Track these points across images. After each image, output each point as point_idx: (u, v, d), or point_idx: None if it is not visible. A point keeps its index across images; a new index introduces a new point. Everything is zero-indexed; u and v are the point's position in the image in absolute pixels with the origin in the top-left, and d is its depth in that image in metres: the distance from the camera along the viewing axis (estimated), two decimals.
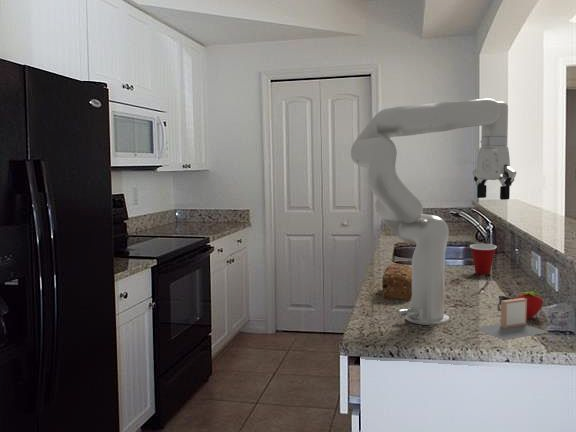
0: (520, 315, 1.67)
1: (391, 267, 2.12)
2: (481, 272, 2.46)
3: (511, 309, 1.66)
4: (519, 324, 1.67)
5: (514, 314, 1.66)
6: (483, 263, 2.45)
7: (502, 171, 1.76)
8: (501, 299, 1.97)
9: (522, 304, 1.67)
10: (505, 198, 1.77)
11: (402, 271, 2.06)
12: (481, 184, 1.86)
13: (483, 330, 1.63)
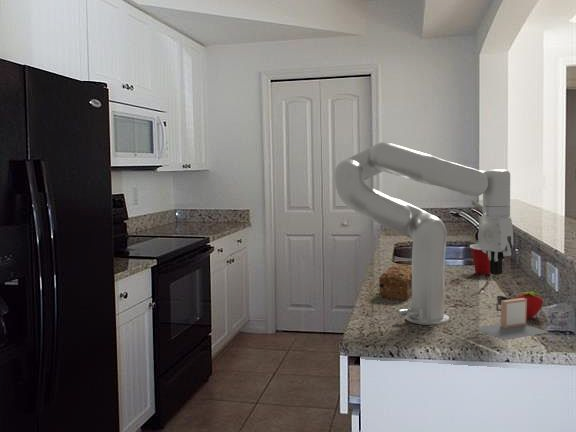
0: (520, 315, 1.67)
1: (392, 267, 2.12)
2: (481, 272, 2.46)
3: (511, 309, 1.66)
4: (519, 324, 1.67)
5: (514, 314, 1.66)
6: (483, 263, 2.45)
7: None
8: (499, 299, 1.97)
9: (522, 304, 1.67)
10: (498, 273, 1.73)
11: (400, 271, 2.06)
12: None
13: (483, 330, 1.63)
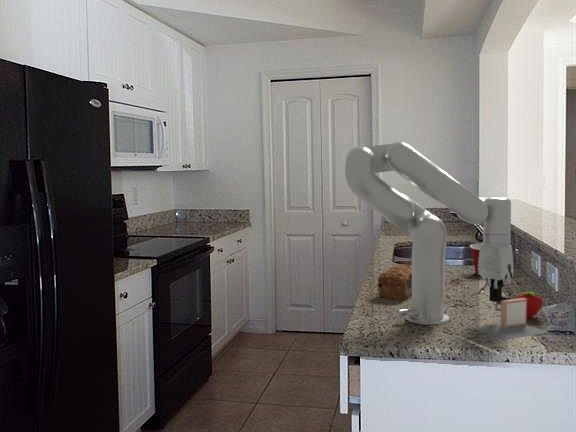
0: (520, 315, 1.67)
1: (393, 267, 2.12)
2: None
3: (511, 309, 1.66)
4: (519, 324, 1.67)
5: (514, 314, 1.66)
6: None
7: (501, 278, 1.69)
8: None
9: (522, 304, 1.67)
10: (497, 300, 1.73)
11: (400, 271, 2.05)
12: None
13: (483, 330, 1.63)
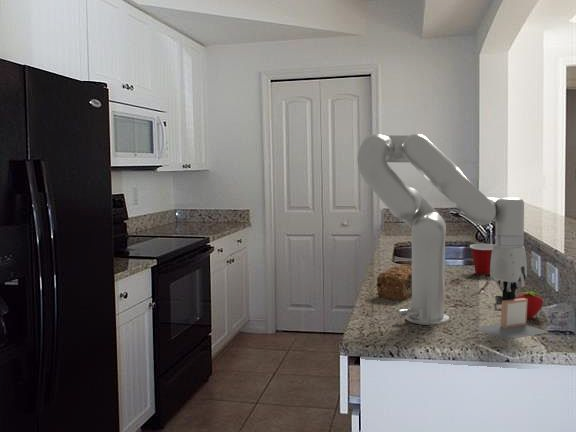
0: (520, 315, 1.67)
1: (394, 267, 2.12)
2: (482, 272, 2.46)
3: (512, 309, 1.66)
4: (519, 324, 1.67)
5: (514, 314, 1.66)
6: (483, 263, 2.45)
7: None
8: (498, 299, 1.97)
9: (523, 304, 1.67)
10: None
11: (399, 271, 2.05)
12: None
13: (483, 330, 1.63)
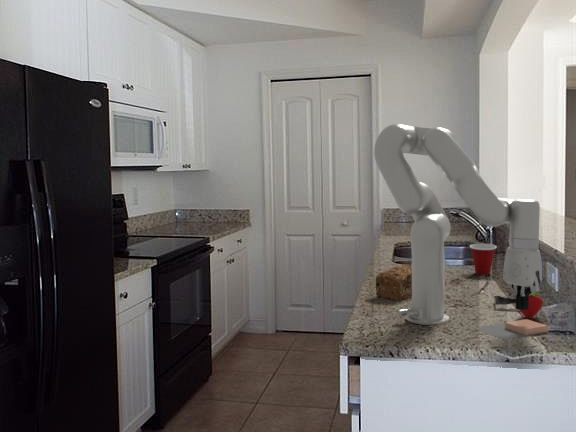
0: None
1: (395, 267, 2.12)
2: (482, 272, 2.46)
3: None
4: None
5: None
6: (483, 263, 2.45)
7: None
8: (497, 299, 1.97)
9: None
10: (524, 308, 1.64)
11: (398, 271, 2.05)
12: None
13: (483, 330, 1.63)
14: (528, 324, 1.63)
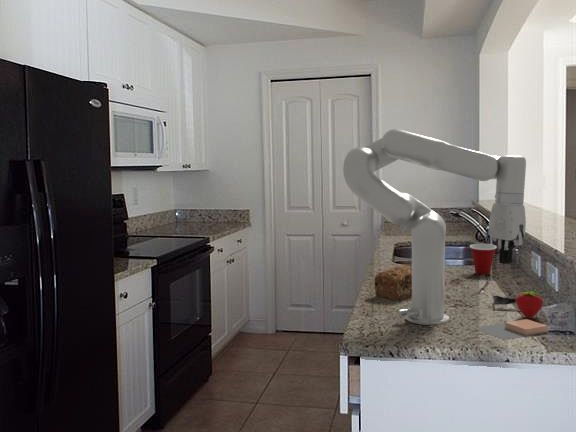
0: None
1: (396, 267, 2.12)
2: (482, 272, 2.46)
3: None
4: None
5: None
6: (483, 263, 2.45)
7: None
8: (495, 299, 1.97)
9: None
10: (507, 262, 1.68)
11: (396, 271, 2.06)
12: None
13: (483, 330, 1.63)
14: (528, 324, 1.63)
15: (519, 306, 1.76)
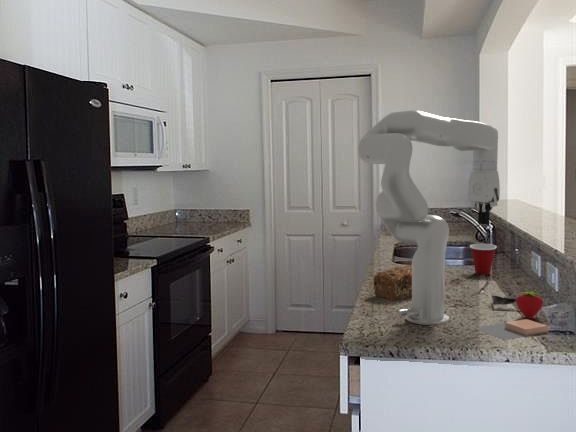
0: None
1: (396, 267, 2.12)
2: (482, 272, 2.46)
3: None
4: None
5: None
6: (483, 263, 2.45)
7: None
8: (494, 299, 1.97)
9: None
10: (485, 223, 1.89)
11: (395, 271, 2.06)
12: None
13: (483, 330, 1.63)
14: (528, 324, 1.63)
15: (519, 306, 1.76)
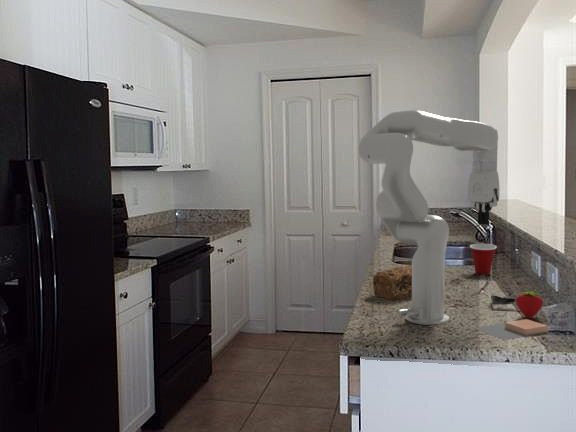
0: None
1: (397, 267, 2.12)
2: (482, 272, 2.46)
3: None
4: None
5: None
6: (483, 263, 2.45)
7: (488, 201, 1.85)
8: (493, 298, 1.98)
9: None
10: (485, 223, 1.89)
11: (394, 271, 2.06)
12: None
13: (483, 330, 1.63)
14: (528, 324, 1.63)
15: (519, 306, 1.76)
